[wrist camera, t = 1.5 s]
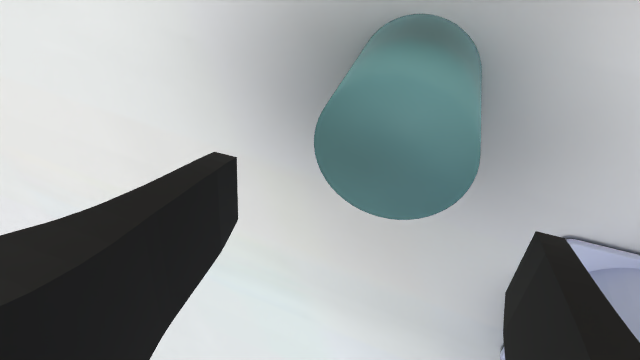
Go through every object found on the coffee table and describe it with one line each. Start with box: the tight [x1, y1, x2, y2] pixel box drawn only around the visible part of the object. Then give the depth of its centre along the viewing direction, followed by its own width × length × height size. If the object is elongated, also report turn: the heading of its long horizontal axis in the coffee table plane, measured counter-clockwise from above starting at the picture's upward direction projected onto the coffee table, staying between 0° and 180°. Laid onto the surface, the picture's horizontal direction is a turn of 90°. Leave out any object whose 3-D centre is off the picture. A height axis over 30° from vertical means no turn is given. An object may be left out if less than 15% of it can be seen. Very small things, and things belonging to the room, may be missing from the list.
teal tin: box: [314, 14, 482, 220], centre depth 16 cm, size 5×5×6 cm
